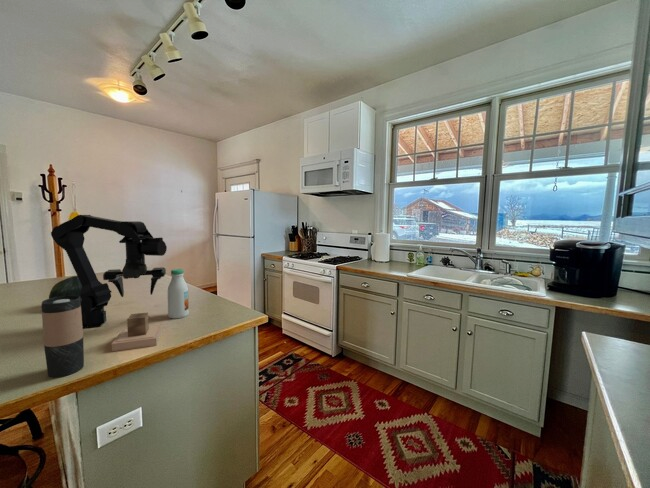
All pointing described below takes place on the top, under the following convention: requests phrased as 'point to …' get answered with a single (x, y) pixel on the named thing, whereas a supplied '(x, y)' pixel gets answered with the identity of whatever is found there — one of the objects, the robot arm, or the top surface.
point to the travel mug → (63, 335)
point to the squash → (67, 288)
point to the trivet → (137, 339)
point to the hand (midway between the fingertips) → (137, 295)
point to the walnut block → (138, 324)
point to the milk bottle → (177, 295)
